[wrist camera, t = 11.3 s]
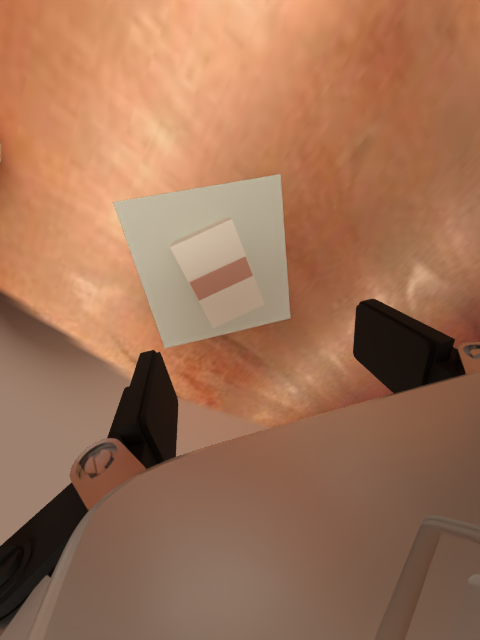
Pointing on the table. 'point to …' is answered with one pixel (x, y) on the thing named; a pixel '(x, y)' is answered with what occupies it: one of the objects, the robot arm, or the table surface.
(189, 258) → the card box
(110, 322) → the table surface
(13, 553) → the robot arm
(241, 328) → the mat
